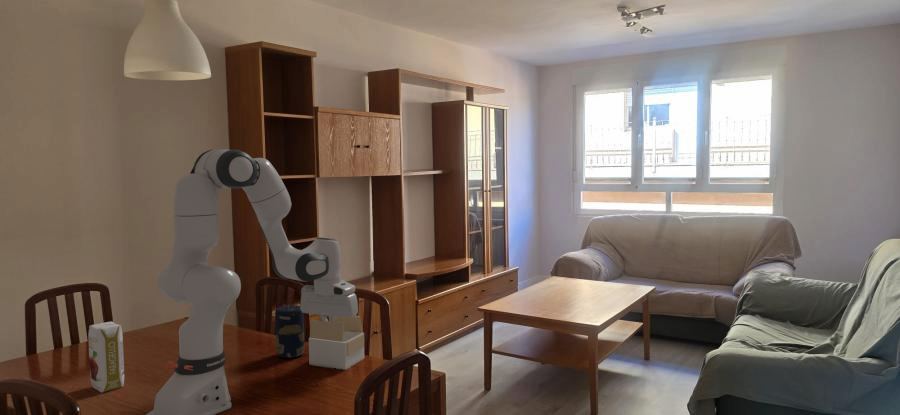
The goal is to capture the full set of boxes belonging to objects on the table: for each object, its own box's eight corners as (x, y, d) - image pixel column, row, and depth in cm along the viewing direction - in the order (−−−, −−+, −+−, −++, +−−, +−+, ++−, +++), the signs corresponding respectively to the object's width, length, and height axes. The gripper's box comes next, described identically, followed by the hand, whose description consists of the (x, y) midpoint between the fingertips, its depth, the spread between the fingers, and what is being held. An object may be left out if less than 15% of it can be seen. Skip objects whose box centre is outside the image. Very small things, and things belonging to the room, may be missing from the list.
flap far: (359, 316, 196) (359, 316, 196) (327, 313, 201) (328, 312, 201) (362, 331, 198) (362, 331, 199) (331, 328, 203) (331, 327, 203)
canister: (308, 351, 207) (307, 301, 205) (299, 360, 197) (297, 308, 196) (282, 350, 208) (281, 301, 206) (271, 359, 198) (270, 307, 197)
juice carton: (115, 380, 179) (112, 320, 178) (127, 386, 174) (124, 324, 173) (88, 387, 174) (85, 325, 172) (99, 394, 168) (96, 330, 167)
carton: (346, 370, 187) (346, 343, 187) (308, 364, 193) (307, 338, 192) (365, 358, 198) (365, 332, 198) (328, 353, 204) (327, 328, 203)
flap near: (311, 319, 192) (311, 319, 191) (344, 323, 187) (343, 323, 187) (310, 337, 191) (309, 338, 191) (343, 341, 187) (342, 342, 186)
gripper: (295, 286, 190) (297, 327, 191) (349, 290, 183) (350, 333, 184) (306, 282, 196) (308, 322, 197) (359, 286, 189) (360, 328, 190)
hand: (329, 328), depth 191 cm, fingers closed, pressing on flap near
